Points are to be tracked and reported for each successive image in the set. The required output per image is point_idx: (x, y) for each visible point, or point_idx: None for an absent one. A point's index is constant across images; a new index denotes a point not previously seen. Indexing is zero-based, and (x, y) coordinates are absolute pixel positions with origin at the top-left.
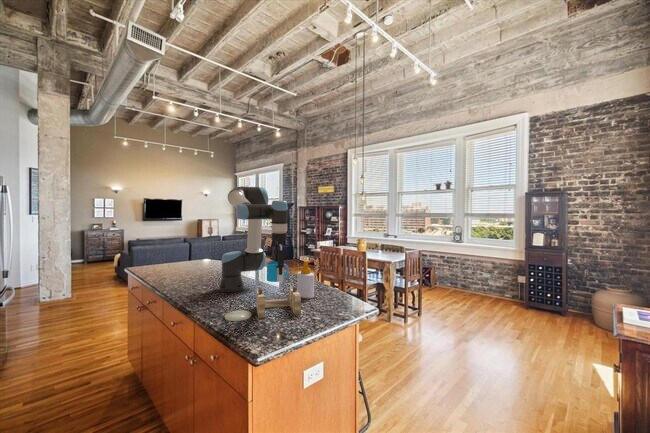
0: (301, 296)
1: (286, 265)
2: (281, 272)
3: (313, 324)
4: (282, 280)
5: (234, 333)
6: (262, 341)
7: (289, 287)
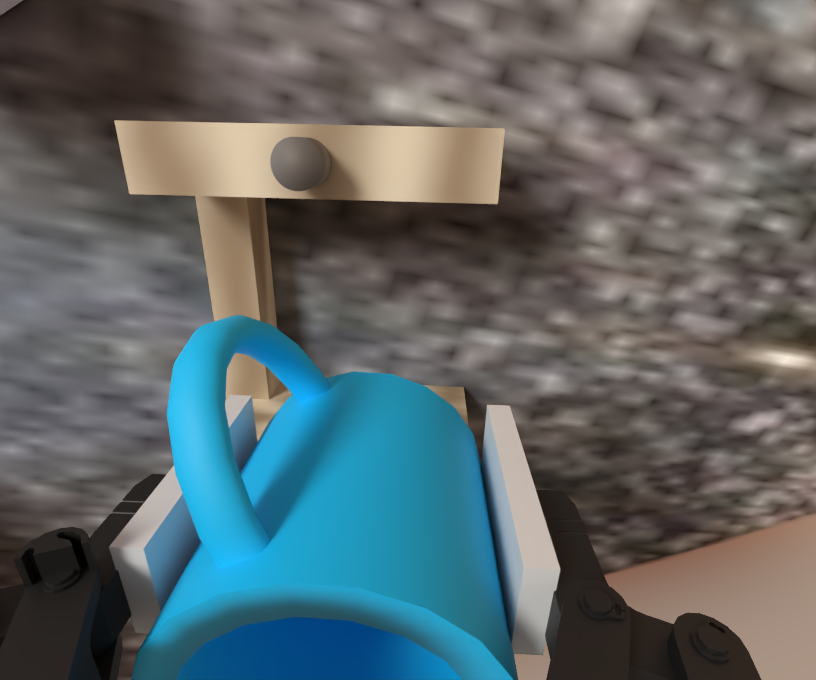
0: (11, 6)
1: (227, 435)
2: (580, 531)
3: (739, 85)
4: (511, 419)
5: (629, 535)
6: (800, 438)
7: (139, 191)
